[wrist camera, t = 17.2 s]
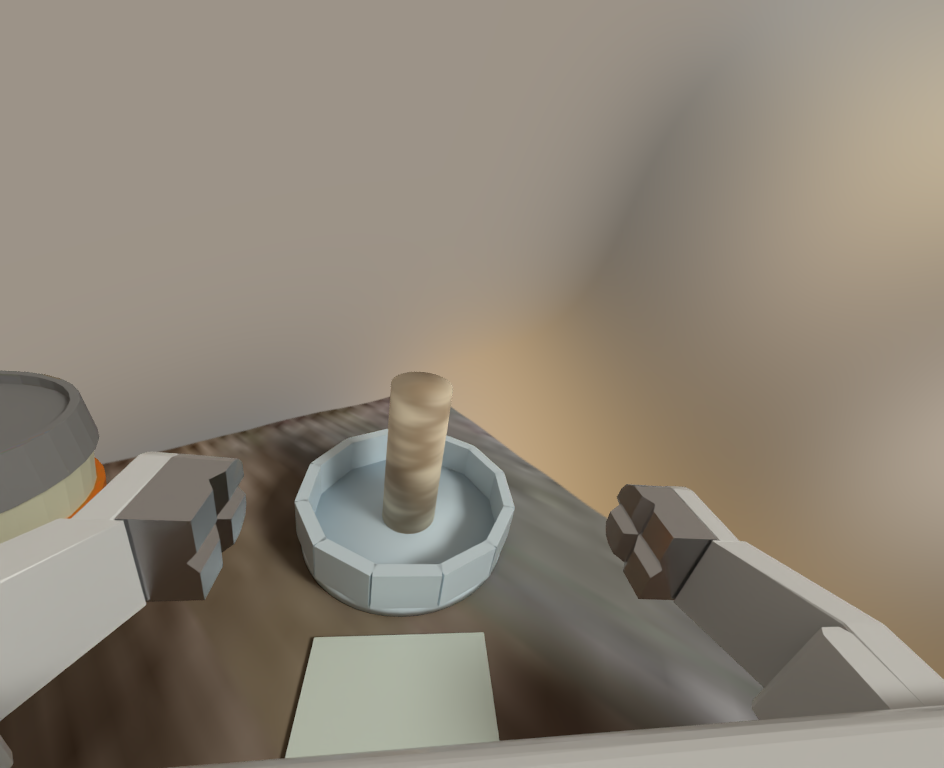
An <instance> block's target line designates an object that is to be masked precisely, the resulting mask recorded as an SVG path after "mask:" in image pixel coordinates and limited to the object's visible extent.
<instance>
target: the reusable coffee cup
mask: <svg viewBox="0 0 944 768" xmlns="http://www.w3.org/2000/svg"><path fill="white" fill-rule="evenodd" d="M98 439H99V434H98V429H97V427H96V425H95V423H94V421H93V419H92V417H91V415H90V413H89V411H88V409H87V407H86V405H85V403H84V401H83V399H82V397H81V395H80V393H79V391H78V390H77V389H76V388H75V387H74V386H73V385H72V384H70V383H69V382H67V381H64V380H62V379H60V378H56V377H52V376H48V375H43V374H37V373H29V372H17V371H0V544H1V543H3V542H6V541H8V540H10V539H12V538H15V537H17V536H19V535H22V534H24V533H26V532H29V531H31V530H33V529H35V528H38V527H40V526H42V525H45V524H47V523H49V522H52V521H54V520H56V519H59V518H62V519H71V518H72V517H73V516H74V515H75V514H76V513H77V512H78V511H79V510H80V509H81V508H83V507H84V506H85V505H86V504H87V503H88V502H89V501H90V500H91V499H92V498H93V497H94V496H95V495H97V494H98V493H99V492H100V491H101V490H102V489H103V488H104V487H105V486H106V476H105V471H104V467H103V465H102V464H101V463H100V462H99V461H98V459H96V458H95V457H94V450H95V449H96V445H97V443H98Z"/></svg>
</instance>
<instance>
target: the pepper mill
mask: <svg viewBox="0 0 944 768" xmlns="http://www.w3.org/2000/svg"><path fill="white" fill-rule="evenodd" d="M452 393H453V386H452V384H451V383H450V382H449V381H448V380H447V379H445V378H443V377H440V376H438V375H435V374H431V373H425V372H408V373H403V374H400V375H398V376H396V377H394V379H393V380H392V382H391V395H390V409H389V424H388V438H387V452H386V467H385V481H384V495H383V510H382V518H383V521H384V523H385V524H386V525H387V526H388V527H389V528H390V529H392V530H393V531H395V532H398V533H402V534H414V533H418V532H421V531H423V530H425V529H427V528H428V527H429V526H430V525H431V523H432V522H433V519H434V514H435V508H436V501H437V494H438V487H439V481H440V474H441V467H442V460H443V454H444V447H445V440H446V433H447V427H448V420H449V413H450V406H451V399H452Z"/></svg>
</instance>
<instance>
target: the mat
mask: <svg viewBox="0 0 944 768" xmlns="http://www.w3.org/2000/svg"><path fill="white" fill-rule="evenodd" d="M491 741H499V734H498V727H497V721H496V714H495V707H494V700H493V693H492V686H491V679H490V672H489V665H488V659H487V652H486V645H485V638H484V632H479V633H445V634H412V635H379V636H346V637H314V641H313V645H312V649H311V653H310V657H309V661H308V665H307V669H306V674H305V678H304V682H303V686H302V690H301V694H300V698H299V702H298V706H297V711H296V715H295V719H294V723H293V727H292V731H291V735H290V739H289V744H288V748H287V752H286V756H285V758H293V757H306V756H318V755H330V754H343V753H355V752H367V751H380V750H392V749H404V748H417V747H429V746H442V745H454V744H467V743H479V742H491Z"/></svg>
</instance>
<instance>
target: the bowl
mask: <svg viewBox="0 0 944 768" xmlns="http://www.w3.org/2000/svg"><path fill="white" fill-rule="evenodd" d="M387 438H388V429H385V430H381V431H376V432H372V433H368V434H363V435H359V436H355V437H351V438H347V439H345V440H344V441H342V442H341V443H339V444H338V445H336V446H335V447H333V448H332V449H330V450H329V451H328V452H326V453H325V454H323V455H322V456H320V457H319V458H317V459H316V460H314V461H313V462H311V464H310V466H309V468H308V470H307V473H306V475H305V477H304V480H303V482H302V485H301V487H300V489H299V492H298V494H297V497H296V499H295V516H296V533H297V536H298V538H299V541H300V543H301V547H302V553H303V557H304V560H305V563H306V565H307V567H308V569H309V571H310V573H311V575H312V576H313V577H314V579H315V580H316V581H317V583H318V584H319V585H320V586H321V587H322V588H323V589H324V590H325V591H327V592H328V593H329V594H330V595H332V596H333V597H335V598H336V599H337V600H339V601H340V602H342V603H344V604H347V605H349V606H351V607H353V608H355V609H358V610H361V611H364V612H368V613H371V614H377V615H383V616H396V617H406V616H418V615H423V614H428V613H433V612H436V611H439V610H442V609H445V608H448V607H450V606H452V605H454V604H456V603H458V602H460V601H462V600H464V599H465V598H466V597H468V596H469V595H471V594H472V593H473V592H475V591H476V590H477V589H478V588H479V587H480V586H481V585H482V584H483V583H484V582H485V581H486V579H487V578H488V577H489V576H490V574H491V573H492V571H493V569H494V567H495V565H496V564H497V561H498V558H499V555H500V552H501V549H502V547H503V545H504V543H505V540H506V538H507V535H508V532H509V528H510V524H511V520H512V517H513V513H514V508H515V507H514V504H513V500H512V497H511V494H510V491H509V487H508V484H507V481H506V477H505V474H504V473H503V471H502V470H501V469H500V468H499V467H497V466H496V465H495V464H494V463H493V462H492V461H491V460H490V459H489V458H487V457H486V456H485V455H484V454H483V453H482V452H481V451H480V450H478V449H477V448H476V447H474V446H473V445H471V444H468V443H465V442H463V441H460V440H457V439H455V438H452V437H449V436H447V435H446V440H445V447H444V454H443V460H442V467H441V474H440V481H439V487H438V494H437V501H436V508H435V514H434V519H433V522H432V523H431V525H430V526H429V527H428V528H427V529H425V530H423V531H421V532H418V533H414V534H402V533H398V532H395V531H393V530H392V529H390V528H389V527H388V526H387V525H386V524H385V523H384V521H383V518H382V510H383V495H384V481H385V467H386V452H387Z"/></svg>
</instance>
